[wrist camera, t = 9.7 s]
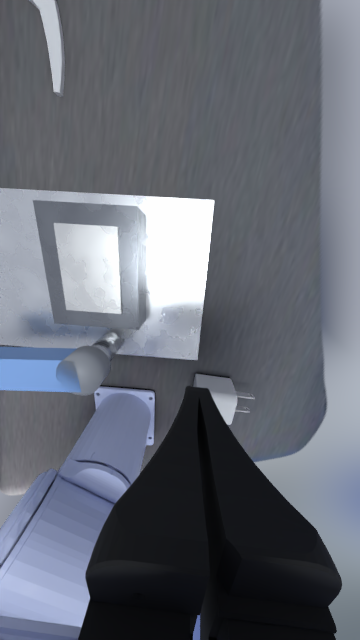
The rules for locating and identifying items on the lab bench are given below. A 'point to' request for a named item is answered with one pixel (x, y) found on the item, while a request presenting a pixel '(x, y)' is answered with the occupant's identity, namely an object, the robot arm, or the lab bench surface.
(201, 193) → the lab bench surface
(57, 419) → the lab bench surface
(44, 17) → the pliers
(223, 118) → the lab bench surface
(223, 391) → the usb wall charger
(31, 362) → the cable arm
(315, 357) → the lab bench surface
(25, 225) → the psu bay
